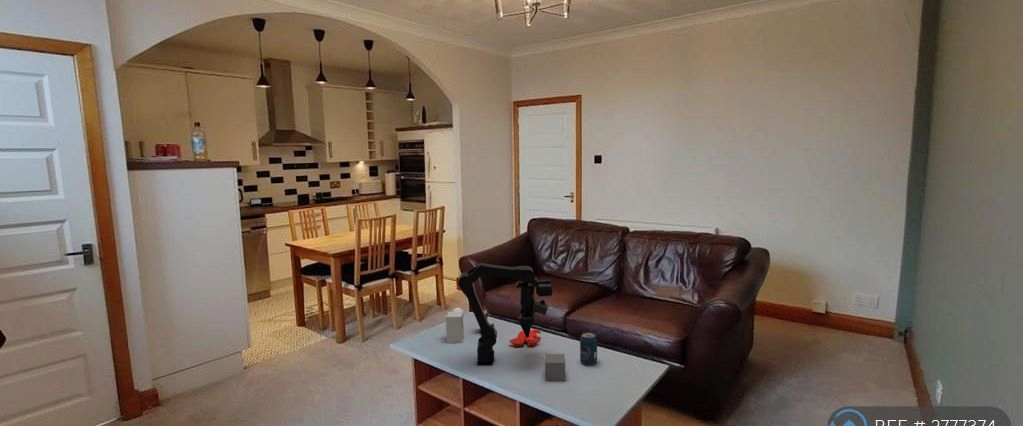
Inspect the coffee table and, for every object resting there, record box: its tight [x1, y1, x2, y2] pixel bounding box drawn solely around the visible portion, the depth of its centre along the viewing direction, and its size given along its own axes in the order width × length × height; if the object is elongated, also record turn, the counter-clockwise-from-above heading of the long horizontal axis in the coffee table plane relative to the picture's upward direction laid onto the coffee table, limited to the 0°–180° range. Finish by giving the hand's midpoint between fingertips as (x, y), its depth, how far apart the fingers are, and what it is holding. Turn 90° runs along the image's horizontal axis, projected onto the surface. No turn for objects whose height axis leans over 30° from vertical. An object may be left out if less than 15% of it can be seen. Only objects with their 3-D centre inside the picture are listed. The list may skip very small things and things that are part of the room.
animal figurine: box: [508, 328, 542, 347], centre depth 220 cm, size 12×15×5 cm
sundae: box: [477, 304, 490, 335], centre depth 233 cm, size 7×7×15 cm
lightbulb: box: [451, 307, 465, 318], centre depth 239 cm, size 6×6×11 cm
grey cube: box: [544, 353, 566, 382], centre depth 188 cm, size 8×8×7 cm
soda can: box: [579, 332, 598, 367], centre depth 199 cm, size 7×7×12 cm
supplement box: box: [445, 311, 465, 344], centre depth 226 cm, size 7×7×13 cm
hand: (527, 332), depth 202 cm, fingers open, 9 cm apart
